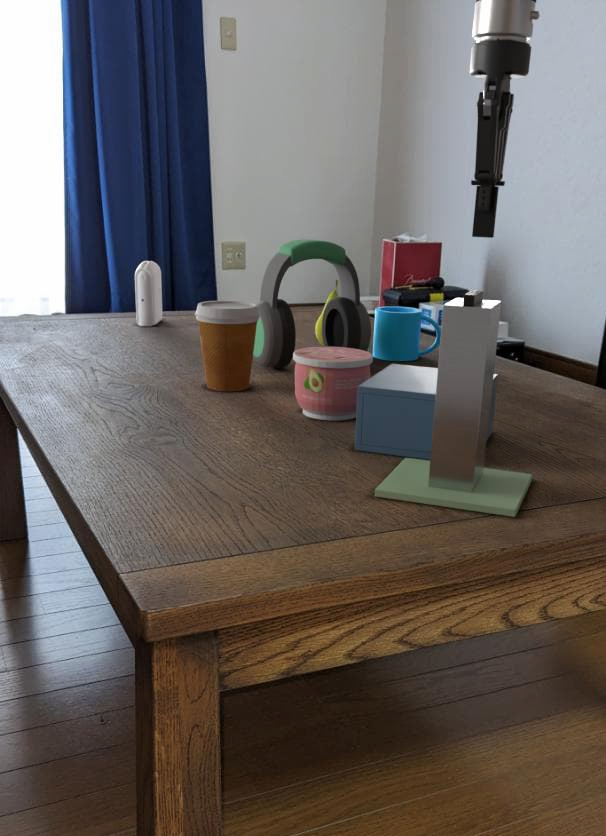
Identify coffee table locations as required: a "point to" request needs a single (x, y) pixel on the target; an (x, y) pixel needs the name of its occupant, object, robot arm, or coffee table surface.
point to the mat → (489, 496)
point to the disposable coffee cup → (227, 342)
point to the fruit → (319, 323)
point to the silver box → (463, 391)
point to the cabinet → (401, 411)
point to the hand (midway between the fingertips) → (482, 236)
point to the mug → (400, 333)
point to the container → (330, 380)
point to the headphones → (341, 315)
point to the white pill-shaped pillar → (148, 294)
